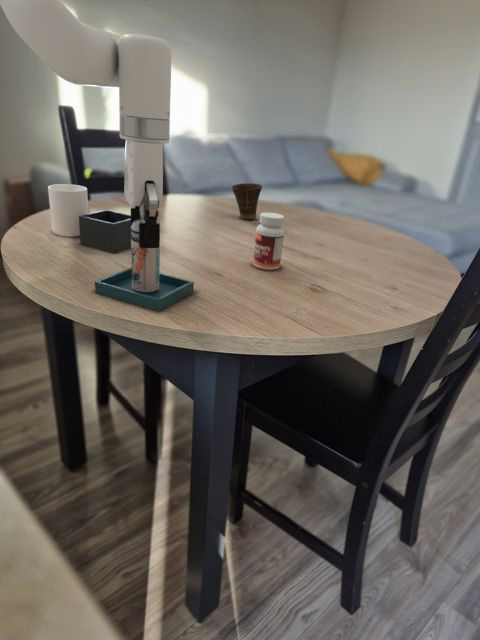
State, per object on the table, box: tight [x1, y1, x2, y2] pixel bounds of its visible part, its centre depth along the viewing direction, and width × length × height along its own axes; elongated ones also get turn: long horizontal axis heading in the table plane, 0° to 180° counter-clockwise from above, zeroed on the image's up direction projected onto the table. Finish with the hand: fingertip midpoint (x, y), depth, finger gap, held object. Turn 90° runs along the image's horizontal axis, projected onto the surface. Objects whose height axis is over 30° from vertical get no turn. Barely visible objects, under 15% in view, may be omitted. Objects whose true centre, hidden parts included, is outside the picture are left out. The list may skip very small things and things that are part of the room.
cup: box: [231, 182, 263, 221], centre depth 144 cm, size 9×9×10 cm
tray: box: [94, 267, 195, 312], centre depth 86 cm, size 13×11×2 cm
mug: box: [47, 183, 90, 238], centre depth 113 cm, size 12×8×10 cm
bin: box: [79, 209, 131, 254], centre depth 108 cm, size 9×9×6 cm
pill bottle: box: [252, 212, 285, 271], centre depth 105 cm, size 6×6×11 cm
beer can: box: [130, 220, 161, 293], centre depth 84 cm, size 5×5×12 cm
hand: (144, 238), depth 82 cm, fingers open, 9 cm apart
